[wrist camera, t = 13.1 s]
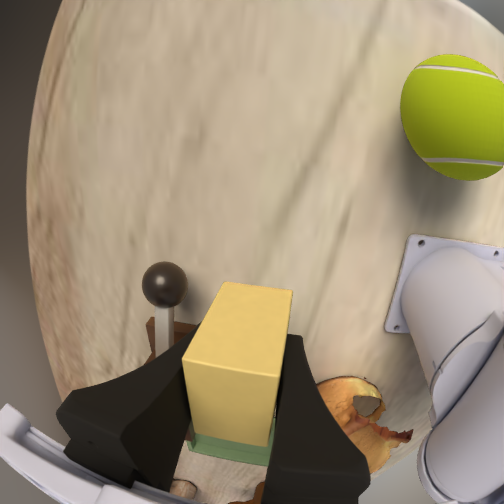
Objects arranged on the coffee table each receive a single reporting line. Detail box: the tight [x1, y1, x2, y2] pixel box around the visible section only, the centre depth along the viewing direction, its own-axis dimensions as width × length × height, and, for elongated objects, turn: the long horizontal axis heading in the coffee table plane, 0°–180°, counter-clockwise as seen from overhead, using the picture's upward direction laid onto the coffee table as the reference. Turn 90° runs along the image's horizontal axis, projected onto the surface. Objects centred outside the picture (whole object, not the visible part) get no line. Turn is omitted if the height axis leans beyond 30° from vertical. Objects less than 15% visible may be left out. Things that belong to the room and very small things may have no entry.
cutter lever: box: [142, 262, 188, 357], centre depth 21 cm, size 13×3×3 cm, turn 178°
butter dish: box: [186, 417, 275, 467], centre depth 30 cm, size 11×9×2 cm
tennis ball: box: [400, 54, 504, 181], centre depth 12 cm, size 7×7×7 cm
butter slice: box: [182, 282, 293, 447], centre depth 11 cm, size 3×4×5 cm, turn 177°
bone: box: [316, 376, 414, 474], centre depth 22 cm, size 12×10×8 cm
